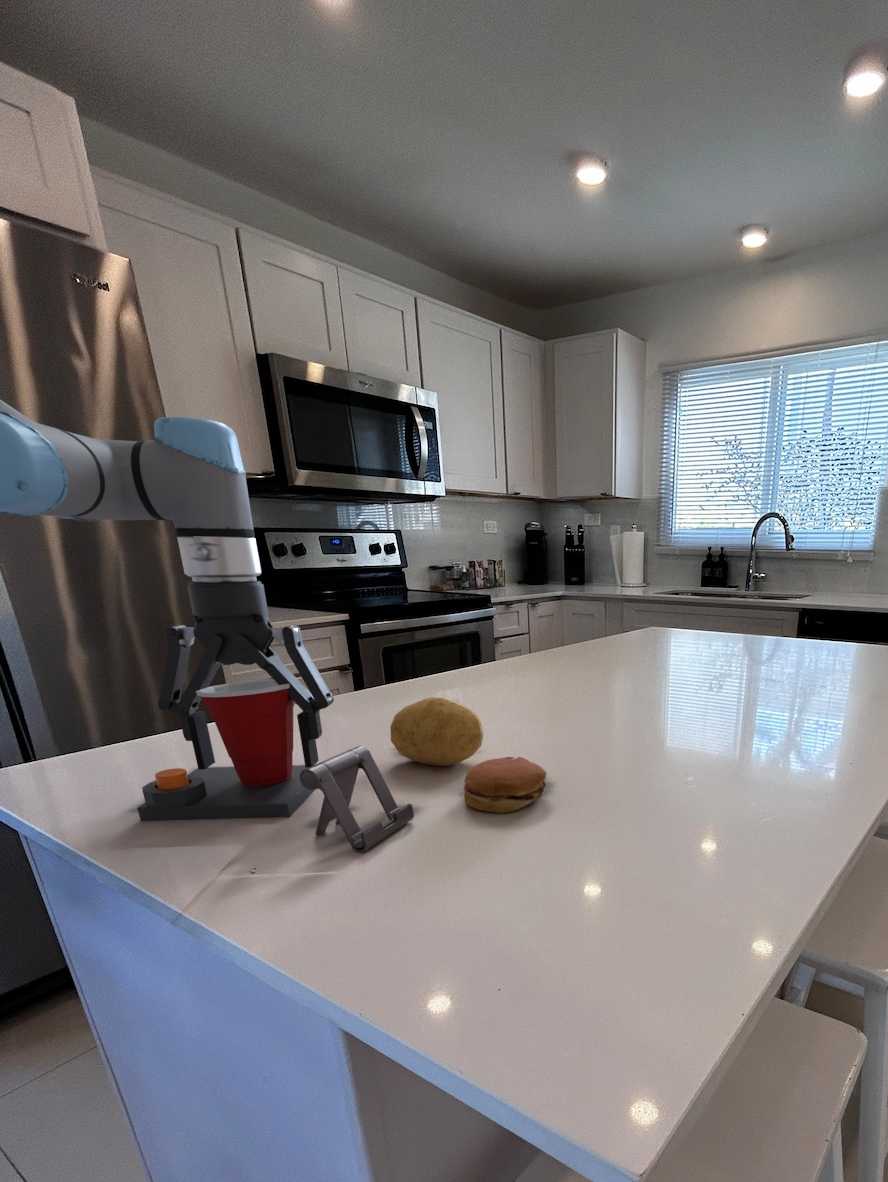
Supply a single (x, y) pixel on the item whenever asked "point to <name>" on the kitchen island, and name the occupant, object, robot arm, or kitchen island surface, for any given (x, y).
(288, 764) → the plastic cup
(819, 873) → the kitchen island surface
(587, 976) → the kitchen island surface
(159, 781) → the button
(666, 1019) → the kitchen island surface
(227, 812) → the scale
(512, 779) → the burger
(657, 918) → the kitchen island surface
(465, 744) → the potato
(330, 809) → the tablet stand
